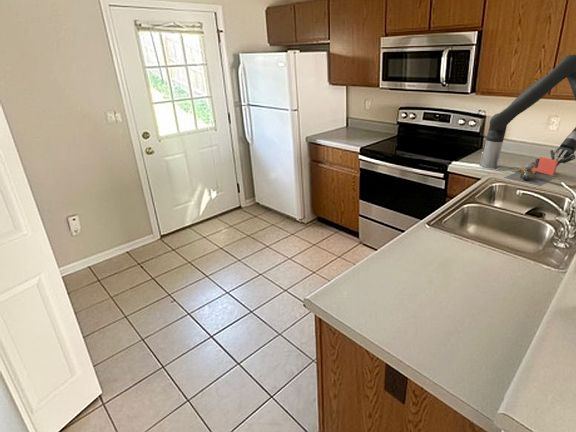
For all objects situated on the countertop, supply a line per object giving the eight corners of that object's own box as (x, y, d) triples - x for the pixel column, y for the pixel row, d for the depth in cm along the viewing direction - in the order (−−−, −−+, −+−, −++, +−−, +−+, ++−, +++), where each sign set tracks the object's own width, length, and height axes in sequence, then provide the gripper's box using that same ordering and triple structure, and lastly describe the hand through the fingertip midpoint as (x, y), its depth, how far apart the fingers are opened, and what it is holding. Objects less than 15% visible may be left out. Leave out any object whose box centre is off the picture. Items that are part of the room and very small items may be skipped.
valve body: (519, 180, 206) (521, 171, 204) (520, 173, 218) (522, 165, 216) (532, 182, 203) (535, 173, 201) (532, 174, 215) (535, 166, 213)
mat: (503, 179, 211) (503, 177, 210) (518, 172, 223) (519, 171, 222) (540, 187, 197) (540, 186, 197) (554, 179, 209) (555, 178, 209)
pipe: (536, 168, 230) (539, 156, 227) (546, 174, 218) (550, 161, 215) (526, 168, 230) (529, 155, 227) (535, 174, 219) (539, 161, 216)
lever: (523, 168, 209) (526, 154, 206) (527, 167, 211) (531, 153, 208) (550, 175, 196) (555, 161, 193) (555, 175, 197) (560, 160, 194)
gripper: (558, 135, 201) (538, 160, 201) (585, 140, 190) (564, 166, 190) (561, 144, 205) (541, 168, 205) (587, 148, 194) (567, 174, 194)
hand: (552, 167), depth 197 cm, fingers closed
